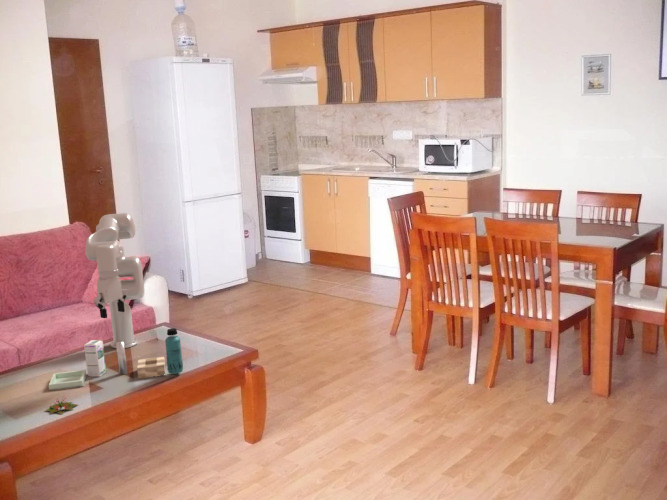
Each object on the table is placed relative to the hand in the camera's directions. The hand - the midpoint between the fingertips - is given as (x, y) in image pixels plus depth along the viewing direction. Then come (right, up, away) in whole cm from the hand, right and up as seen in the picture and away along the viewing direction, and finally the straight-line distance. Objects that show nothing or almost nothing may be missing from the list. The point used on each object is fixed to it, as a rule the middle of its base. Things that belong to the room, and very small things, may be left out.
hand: (112, 314), depth 289 cm
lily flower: (-12, -34, -24) cm, 43 cm away
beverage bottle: (+25, -26, +5) cm, 36 cm away
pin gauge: (+2, -26, +9) cm, 28 cm away
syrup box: (-10, -27, +10) cm, 30 cm away
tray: (-19, -29, +2) cm, 34 cm away
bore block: (+14, -26, +9) cm, 30 cm away
